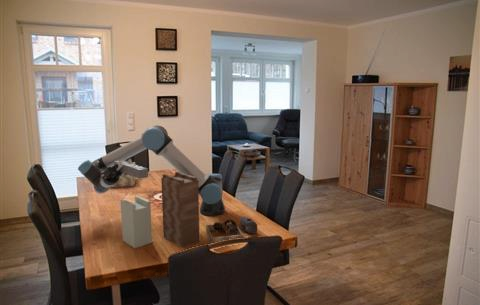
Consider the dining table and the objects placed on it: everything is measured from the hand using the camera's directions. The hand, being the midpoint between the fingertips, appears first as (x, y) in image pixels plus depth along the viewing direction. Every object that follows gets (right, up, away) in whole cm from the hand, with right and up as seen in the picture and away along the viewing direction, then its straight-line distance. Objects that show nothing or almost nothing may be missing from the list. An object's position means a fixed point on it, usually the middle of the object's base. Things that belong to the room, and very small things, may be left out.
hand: (126, 162), depth 167 cm
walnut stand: (+26, -38, +4) cm, 46 cm away
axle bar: (+3, -5, -2) cm, 6 cm away
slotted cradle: (+5, -38, +1) cm, 38 cm away
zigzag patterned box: (-42, -19, +111) cm, 120 cm away
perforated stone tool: (+58, -36, +15) cm, 70 cm away
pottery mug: (+47, -37, +11) cm, 60 cm away
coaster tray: (+46, -37, +8) cm, 60 cm away
